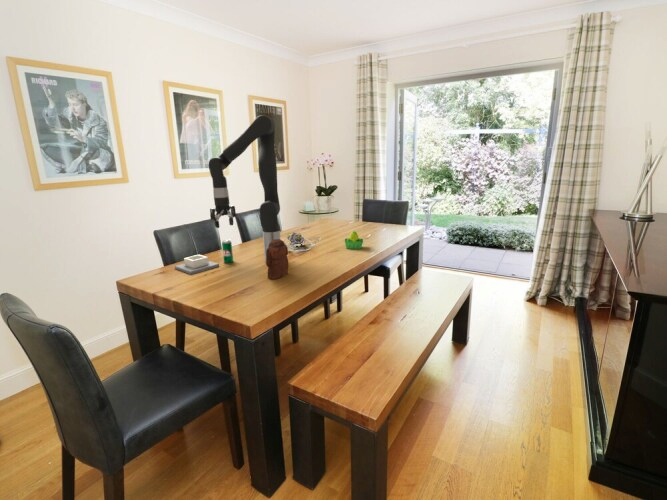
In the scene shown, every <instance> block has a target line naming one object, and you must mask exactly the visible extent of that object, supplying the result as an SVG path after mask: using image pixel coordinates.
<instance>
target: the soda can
mask: <svg viewBox="0 0 667 500" xmlns="http://www.w3.org/2000/svg"><path fill="white" fill-rule="evenodd" d="M221 247H222V256H223V257H222V259H223V262H224V263H226V264H228V263H233V262H234V255H233V244H232V241H231V239H224V240H222V242H221Z"/></svg>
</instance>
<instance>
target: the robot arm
mask: <svg viewBox="0 0 667 500" xmlns="http://www.w3.org/2000/svg"><path fill="white" fill-rule="evenodd" d="M275 132H276V125H275V122H274V120H273V119H272V118H271V117H270V116H267V115H266V114H260V115H258V116H256V118H255V119H254V120H253V121H252V122H251V123H250V125H249V126H248V127H247V128H246V130H244V132H242V134H240V135H239V136H238V137H237V138H235V140H233V141H232V142H231V143H229V144H228V145H227V146H226V147H225V148H224V149H223V150H222V153H221V154H219V155H218V156H213V157H211V158H210V159H209V160H208V169H209V173H210V176H211V179H212V187H213V200H214V206H215V207H214V208H209V212H210V220H211V221H213V222H214V227H215V228H216V229H219V228H220V221H219V219H220V218H221V217H223V216H227V217H228V222H229V224H228V225H229V226H233V225H234V218H236V217H237V214H236V213H237V212H236V207H235V205H230V195H229V189H228V182H227V178H226V176H225V175H224V170H225V169H227V168H228V167H229V166H230V165H231V164H232V162H233V161H235V160H236V159H237V158H238V157H240V156H241V155H242V154H243V153H244V152H245V151H246V150H247V149H248V148H249V146H250V145H252V143H253V142H255V141H256V140H257V139H259V153H258V163H257V164H258V165H257V166H258V176H259V180H260V183H261V185H262V188H263V193H264V195H263V196H264V202H262V203H261V204H260V206H259V220H260V226H261V230H262V240H263V253H264V262H265V263H266V251H267V249H268V246H269V243H270V242H271V241H272V240H274V239H280V240H281V226H280V224H279V223H278V216H279V214H280V211H281V206H280V205H281V204H280V198H279V193H278V170H277V169H278V167H277V156H276V148H275V136H276V135H275Z"/></svg>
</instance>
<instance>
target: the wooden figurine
mask: <svg viewBox="0 0 667 500" xmlns="http://www.w3.org/2000/svg"><path fill="white" fill-rule="evenodd" d="M288 250H289V249H288V246H287V245H286V244H285V242H284V241H283V240H282V239H281V238H280V239H274V240H272V241H271V242H270V243H269V246H268V249H267V251H266V262H265V264H266V267H267V278H268V279H270V280H276V279H279V278H281V277H283V276H285V275H287V274H288V272H289V259H288V254H289V251H288Z"/></svg>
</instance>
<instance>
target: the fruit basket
mask: <svg viewBox="0 0 667 500" xmlns="http://www.w3.org/2000/svg"><path fill="white" fill-rule="evenodd" d="M363 243H364V238H359V235H358V233H357V231H355V230H354V231H351V232H350V234H349V238H345V239H344V244H345V248H346V250H348V249H349V250H362V246H363Z"/></svg>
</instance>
